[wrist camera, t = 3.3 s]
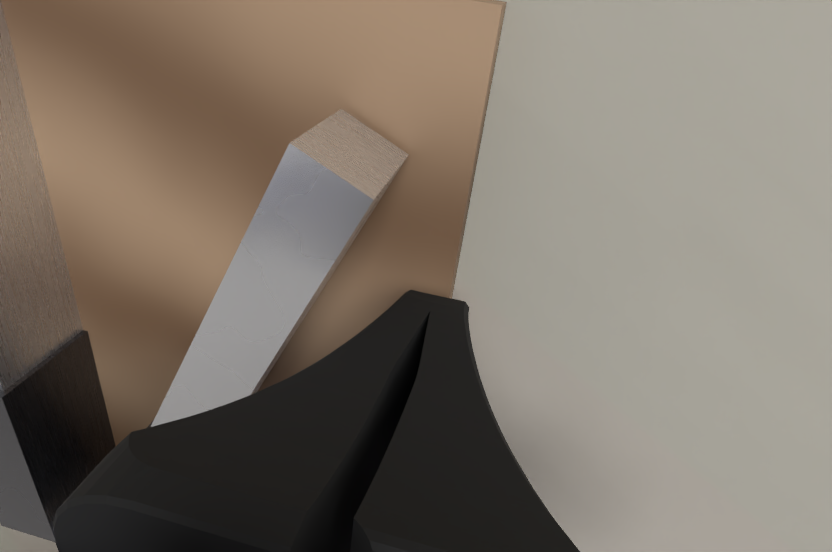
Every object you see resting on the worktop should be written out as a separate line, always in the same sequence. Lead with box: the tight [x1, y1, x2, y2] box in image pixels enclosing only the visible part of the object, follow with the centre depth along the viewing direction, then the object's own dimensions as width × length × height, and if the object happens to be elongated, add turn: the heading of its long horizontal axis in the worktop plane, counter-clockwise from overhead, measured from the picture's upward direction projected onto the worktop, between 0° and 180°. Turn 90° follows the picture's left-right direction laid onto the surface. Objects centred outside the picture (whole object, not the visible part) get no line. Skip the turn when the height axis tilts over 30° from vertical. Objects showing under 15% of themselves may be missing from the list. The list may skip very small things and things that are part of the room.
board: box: [1, 0, 506, 446], centre depth 16 cm, size 19×18×1 cm
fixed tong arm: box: [0, 0, 116, 542], centre depth 14 cm, size 15×2×3 cm, turn 173°
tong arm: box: [147, 109, 408, 428], centre depth 14 cm, size 18×2×3 cm, turn 148°
